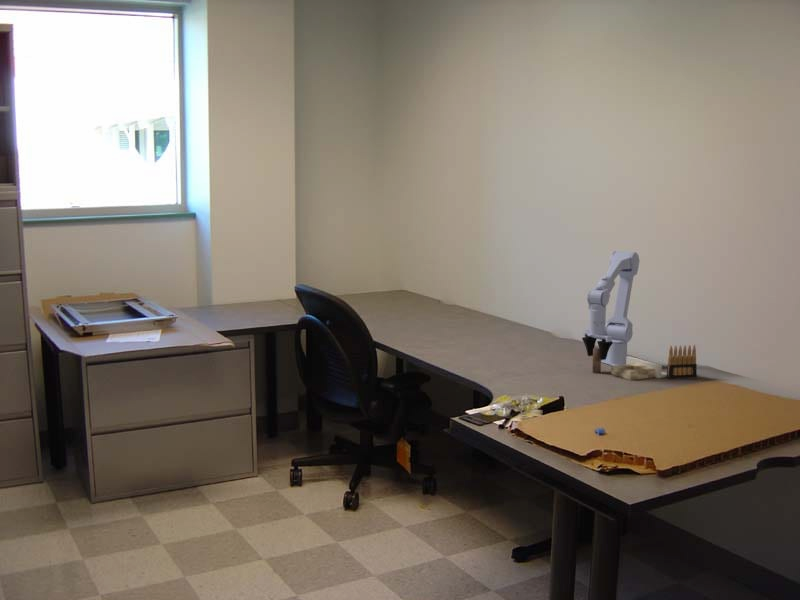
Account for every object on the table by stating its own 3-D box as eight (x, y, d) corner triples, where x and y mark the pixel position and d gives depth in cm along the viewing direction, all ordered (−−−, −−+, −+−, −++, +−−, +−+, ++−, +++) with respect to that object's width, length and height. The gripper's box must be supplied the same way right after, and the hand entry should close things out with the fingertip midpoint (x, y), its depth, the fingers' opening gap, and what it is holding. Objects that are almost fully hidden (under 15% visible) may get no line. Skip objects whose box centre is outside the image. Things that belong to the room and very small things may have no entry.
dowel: (590, 372, 323) (591, 348, 322) (597, 371, 325) (597, 347, 323) (595, 373, 321) (596, 350, 320) (602, 372, 322) (602, 349, 321)
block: (611, 373, 320) (611, 366, 319) (634, 370, 324) (635, 363, 324) (630, 380, 310) (630, 372, 310) (654, 376, 314) (654, 368, 314)
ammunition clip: (668, 378, 312) (669, 346, 310) (666, 377, 314) (667, 345, 312) (696, 377, 313) (697, 345, 311) (694, 376, 315) (695, 344, 313)
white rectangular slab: (626, 368, 329) (626, 356, 328) (637, 366, 331) (637, 355, 331) (658, 378, 313) (658, 365, 312) (670, 376, 315) (670, 364, 314)
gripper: (577, 319, 325) (576, 355, 327) (601, 325, 312) (600, 362, 314) (592, 318, 328) (591, 353, 330) (616, 324, 315) (615, 360, 317)
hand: (596, 357), depth 322 cm, fingers open, 7 cm apart
